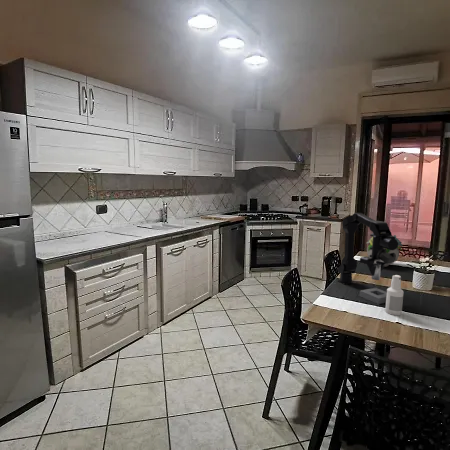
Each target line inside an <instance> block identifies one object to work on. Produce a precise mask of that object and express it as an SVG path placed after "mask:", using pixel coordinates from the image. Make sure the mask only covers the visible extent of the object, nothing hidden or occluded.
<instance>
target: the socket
mask: <svg viewBox="0 0 450 450" xmlns="http://www.w3.org/2000/svg"><path fill="white" fill-rule="evenodd" d="M358 295H359V297H361V298H363V299H365V300H367V301H371V302H373V303H375V304H377V305H380V304H384V303H385V304H386V297H387V290H383V289H379V288H377V287H372V288H367V289H362V290H359V294H358Z"/></svg>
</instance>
